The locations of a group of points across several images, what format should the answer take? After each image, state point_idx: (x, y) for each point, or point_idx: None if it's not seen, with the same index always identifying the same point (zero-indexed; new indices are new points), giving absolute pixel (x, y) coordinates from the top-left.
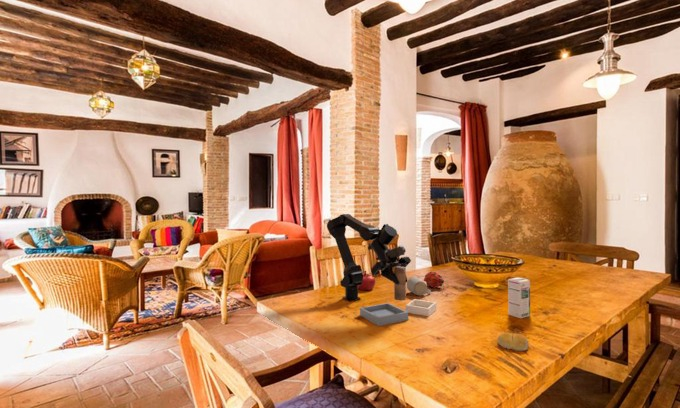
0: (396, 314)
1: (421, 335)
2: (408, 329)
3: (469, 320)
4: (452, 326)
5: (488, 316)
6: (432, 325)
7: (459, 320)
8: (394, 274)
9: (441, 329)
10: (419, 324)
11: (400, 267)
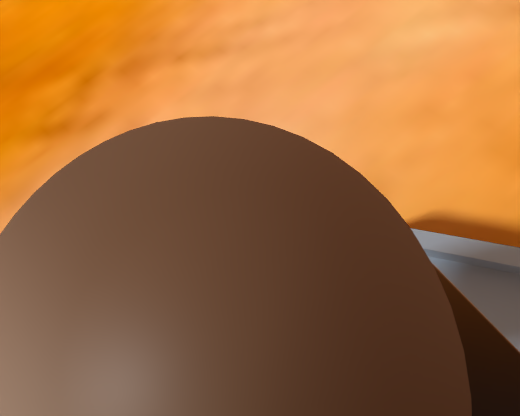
0: (498, 246)
1: (517, 4)
2: (513, 112)
3: (125, 29)
4: (257, 15)
5: (28, 21)
6: (327, 78)
7: (156, 54)
8: (493, 407)
9: (339, 14)
10: (376, 132)
11: (124, 373)
